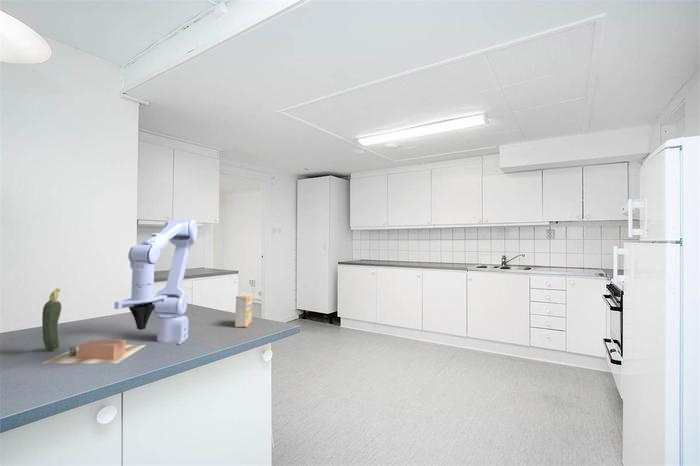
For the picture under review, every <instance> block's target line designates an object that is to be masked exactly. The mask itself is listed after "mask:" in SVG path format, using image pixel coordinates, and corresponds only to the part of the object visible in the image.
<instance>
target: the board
mask: <svg viewBox="0 0 700 466" xmlns="http://www.w3.org/2000/svg"><path fill="white" fill-rule="evenodd" d="M146 346H147V345H146V344H126V347H125V353H124V354H122V355H120V356H118V357H117V358H115V359H78V346H76V345H75V346H70V347H69V350H68V351H66V352H63V353H61V354H59V355H57V356H54V357H52V358H51V359H48V360H46V361H43V362H42V364H119V363H120V362H121V361H123V360H124V359H127V358H128V357H129V356H131V355H133V354H135V353H136V352H138V351H140V350H141V349H142V348H144V347H146Z"/></svg>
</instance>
